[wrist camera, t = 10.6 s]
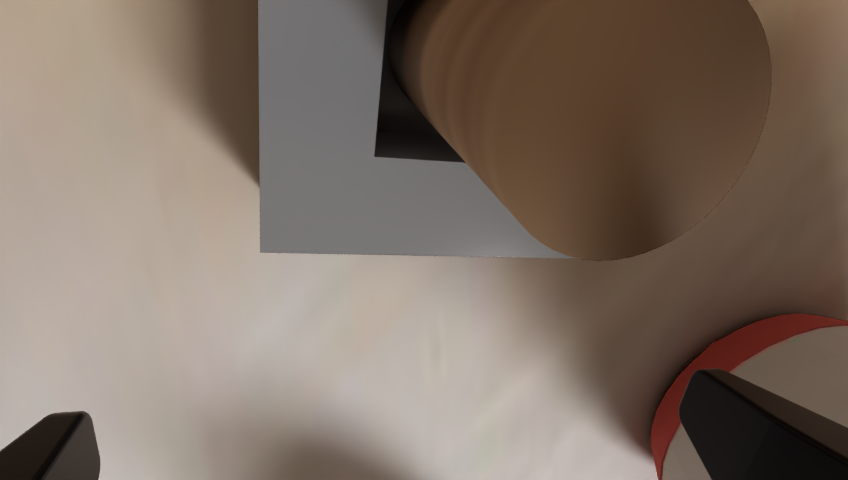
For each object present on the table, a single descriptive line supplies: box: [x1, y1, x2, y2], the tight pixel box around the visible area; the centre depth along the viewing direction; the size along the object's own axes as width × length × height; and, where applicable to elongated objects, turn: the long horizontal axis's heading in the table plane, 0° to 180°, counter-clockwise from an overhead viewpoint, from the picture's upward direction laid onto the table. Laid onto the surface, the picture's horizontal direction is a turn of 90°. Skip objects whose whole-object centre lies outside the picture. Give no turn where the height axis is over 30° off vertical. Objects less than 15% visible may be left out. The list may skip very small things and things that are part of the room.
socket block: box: [258, 0, 579, 259], centre depth 15 cm, size 11×11×4 cm
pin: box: [389, 0, 771, 261], centre depth 11 cm, size 4×4×10 cm
